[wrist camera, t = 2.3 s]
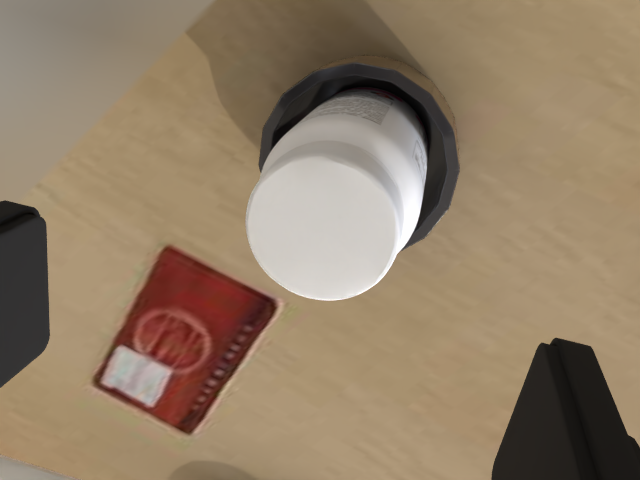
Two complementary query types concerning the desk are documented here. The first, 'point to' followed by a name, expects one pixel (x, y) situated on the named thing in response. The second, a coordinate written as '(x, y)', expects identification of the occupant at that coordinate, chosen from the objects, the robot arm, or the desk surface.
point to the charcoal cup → (399, 83)
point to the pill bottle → (340, 195)
